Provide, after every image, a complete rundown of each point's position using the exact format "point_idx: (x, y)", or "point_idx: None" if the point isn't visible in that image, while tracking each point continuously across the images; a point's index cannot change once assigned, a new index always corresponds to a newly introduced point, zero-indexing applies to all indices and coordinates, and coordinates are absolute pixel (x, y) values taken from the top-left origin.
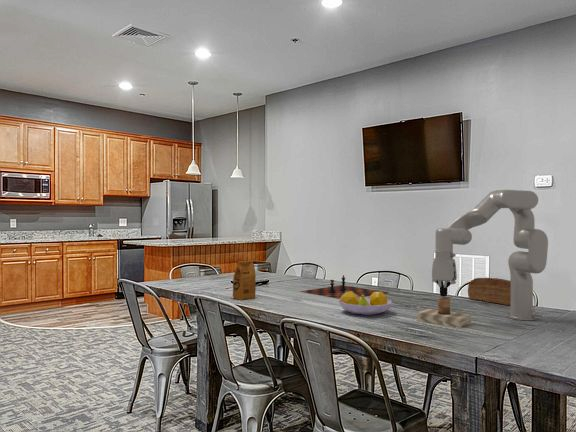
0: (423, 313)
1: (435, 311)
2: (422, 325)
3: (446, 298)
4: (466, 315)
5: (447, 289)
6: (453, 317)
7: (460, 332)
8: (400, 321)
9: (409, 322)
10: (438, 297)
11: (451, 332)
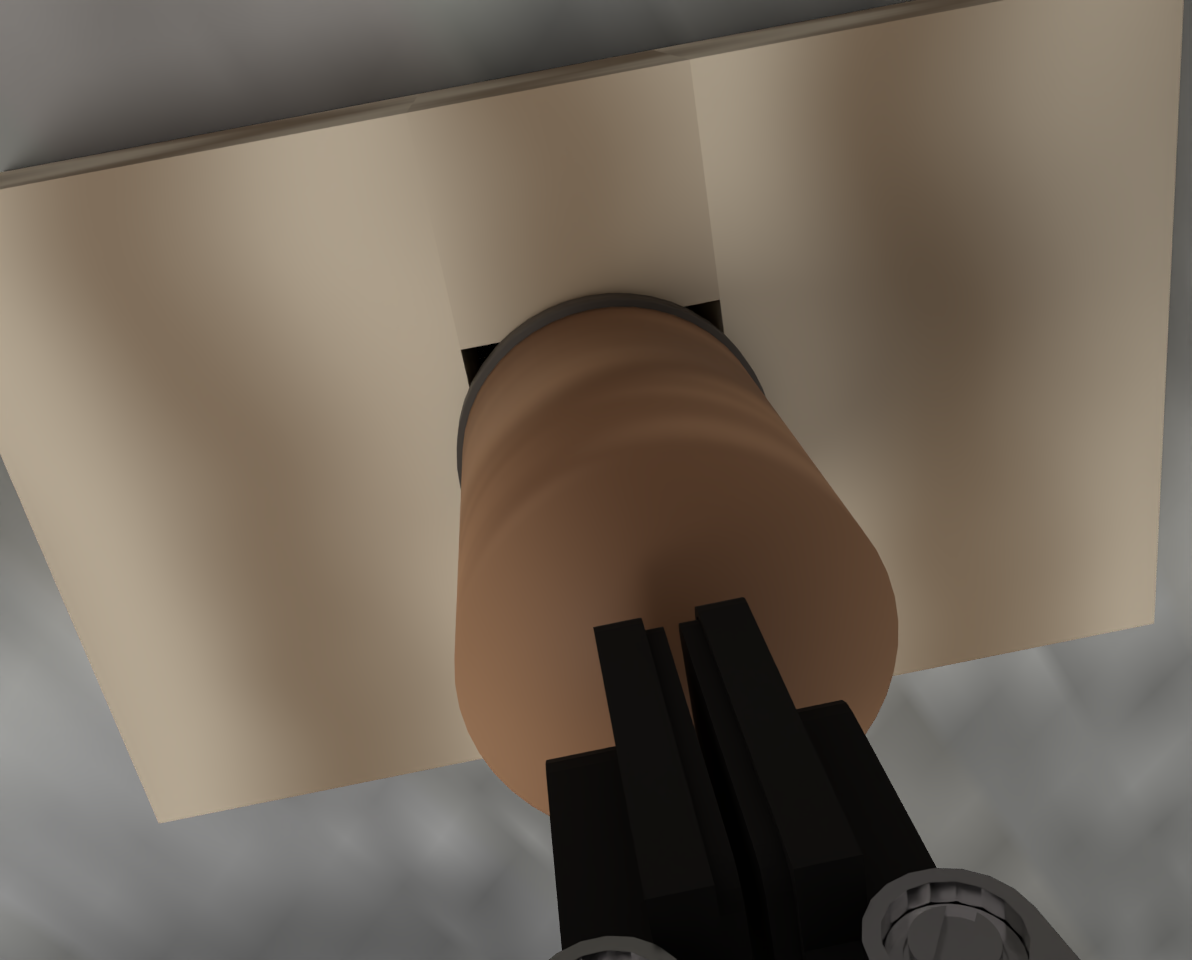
0: (317, 787)
1: (318, 423)
2: (528, 869)
3: (799, 673)
4: (1128, 182)
5: (920, 847)
6: (1006, 628)
7: (1188, 749)
8: (95, 950)
9: (237, 887)
10: (483, 741)
11: (1087, 848)
